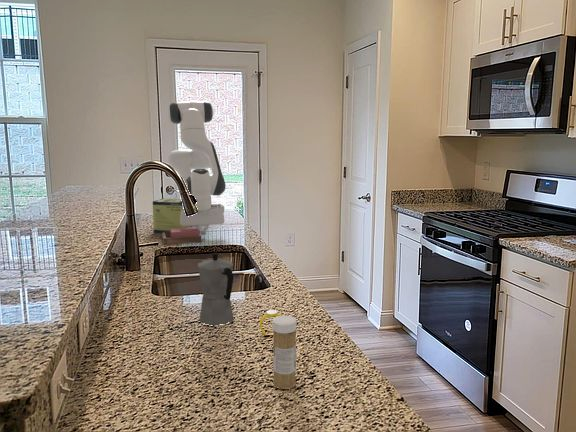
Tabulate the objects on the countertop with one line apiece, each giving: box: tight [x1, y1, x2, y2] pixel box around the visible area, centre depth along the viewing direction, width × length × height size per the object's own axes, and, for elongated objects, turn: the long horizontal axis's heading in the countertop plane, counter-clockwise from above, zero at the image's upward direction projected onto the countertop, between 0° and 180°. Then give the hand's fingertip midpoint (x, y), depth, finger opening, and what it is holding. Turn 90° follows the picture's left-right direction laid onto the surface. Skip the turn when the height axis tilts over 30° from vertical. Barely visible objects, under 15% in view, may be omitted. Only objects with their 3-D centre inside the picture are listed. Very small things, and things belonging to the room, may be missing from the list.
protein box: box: [152, 198, 192, 234], centre depth 233 cm, size 10×16×16 cm
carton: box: [170, 226, 200, 238], centre depth 216 cm, size 9×12×5 cm
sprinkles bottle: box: [271, 315, 298, 390], centre depth 90 cm, size 5×5×13 cm
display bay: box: [161, 231, 202, 245], centre depth 216 cm, size 15×16×2 cm
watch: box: [259, 309, 283, 335], centre depth 114 cm, size 6×3×6 cm, turn 101°
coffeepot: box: [197, 252, 235, 325], centre depth 121 cm, size 15×9×18 cm, turn 35°
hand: (202, 234), depth 219 cm, fingers closed
